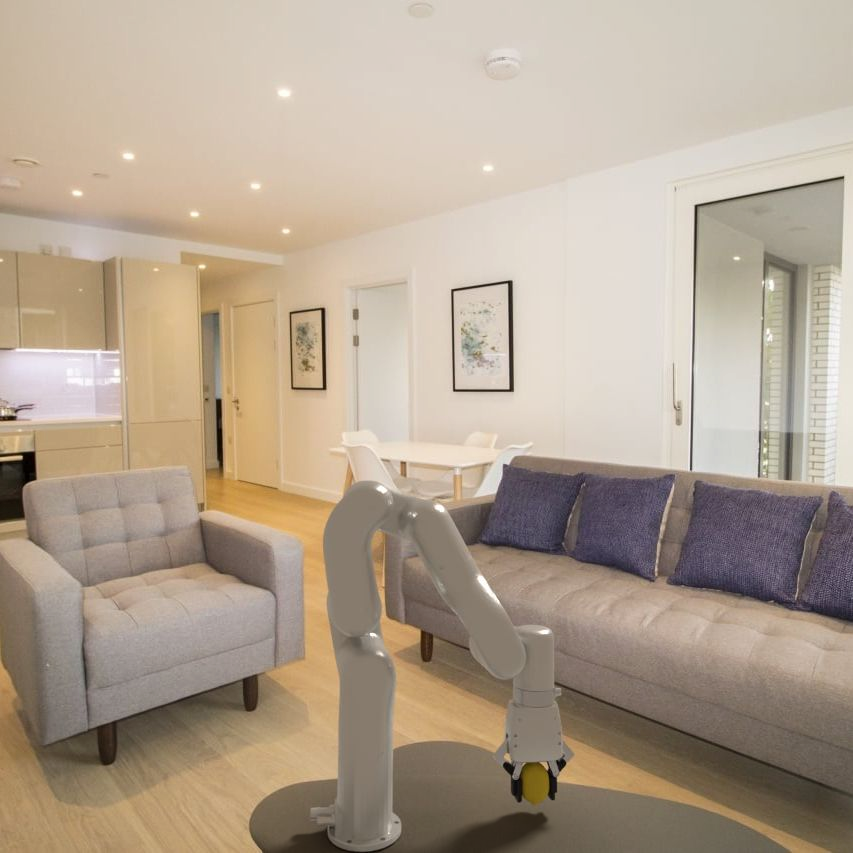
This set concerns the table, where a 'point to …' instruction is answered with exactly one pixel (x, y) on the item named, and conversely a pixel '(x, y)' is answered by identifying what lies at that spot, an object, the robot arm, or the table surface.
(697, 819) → the table surface
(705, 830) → the table surface
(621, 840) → the table surface
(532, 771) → the lemon
